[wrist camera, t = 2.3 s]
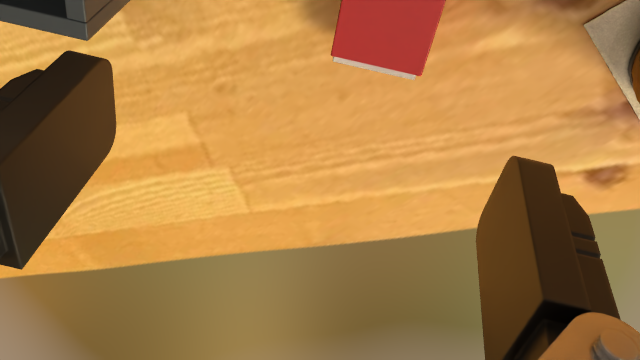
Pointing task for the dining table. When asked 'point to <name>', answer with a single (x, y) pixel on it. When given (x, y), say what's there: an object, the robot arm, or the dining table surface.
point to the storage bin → (61, 15)
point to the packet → (386, 35)
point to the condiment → (620, 46)
